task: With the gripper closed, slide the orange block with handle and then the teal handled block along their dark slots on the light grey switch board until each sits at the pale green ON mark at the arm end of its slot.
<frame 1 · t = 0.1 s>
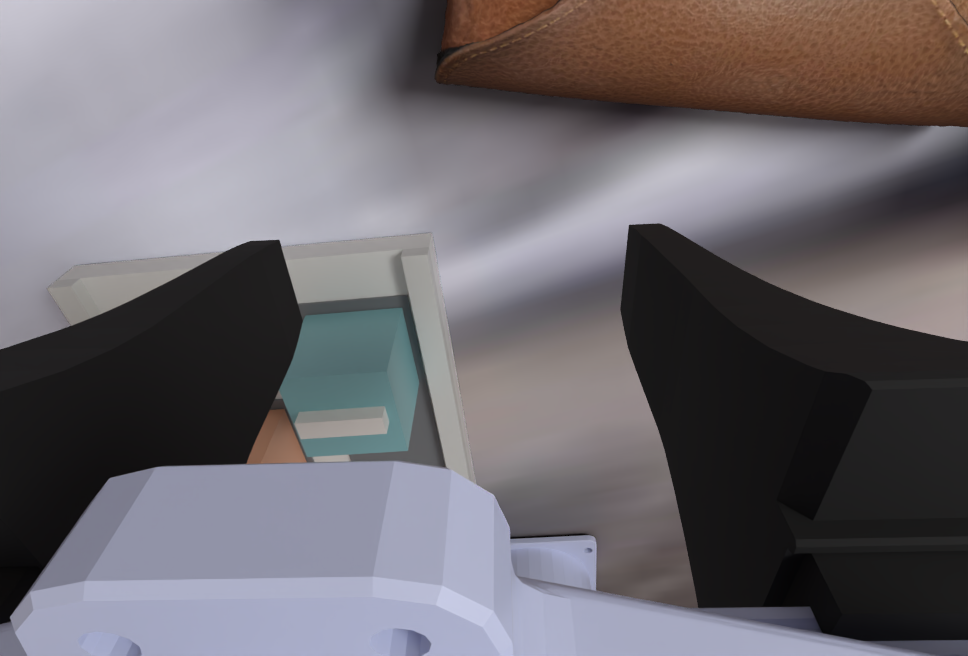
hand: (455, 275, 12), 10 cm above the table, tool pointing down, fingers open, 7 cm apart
teal handled block: (353, 386, 22), point 4 cm above the table, slide at 0.0 cm
orange block with handle: (239, 479, 26), point 4 cm above the table, slide at 0.0 cm
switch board: (305, 396, 27), on the table
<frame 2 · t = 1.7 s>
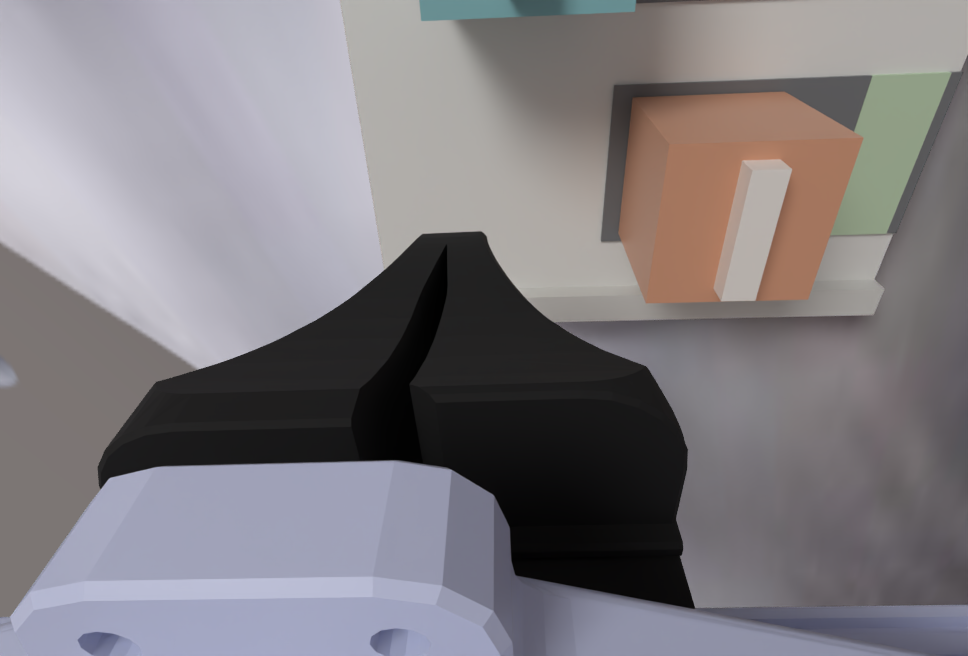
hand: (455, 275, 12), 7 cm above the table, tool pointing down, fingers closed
orange block with handle: (720, 199, 14), point 4 cm above the table, slide at 0.0 cm
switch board: (643, 66, 16), on the table
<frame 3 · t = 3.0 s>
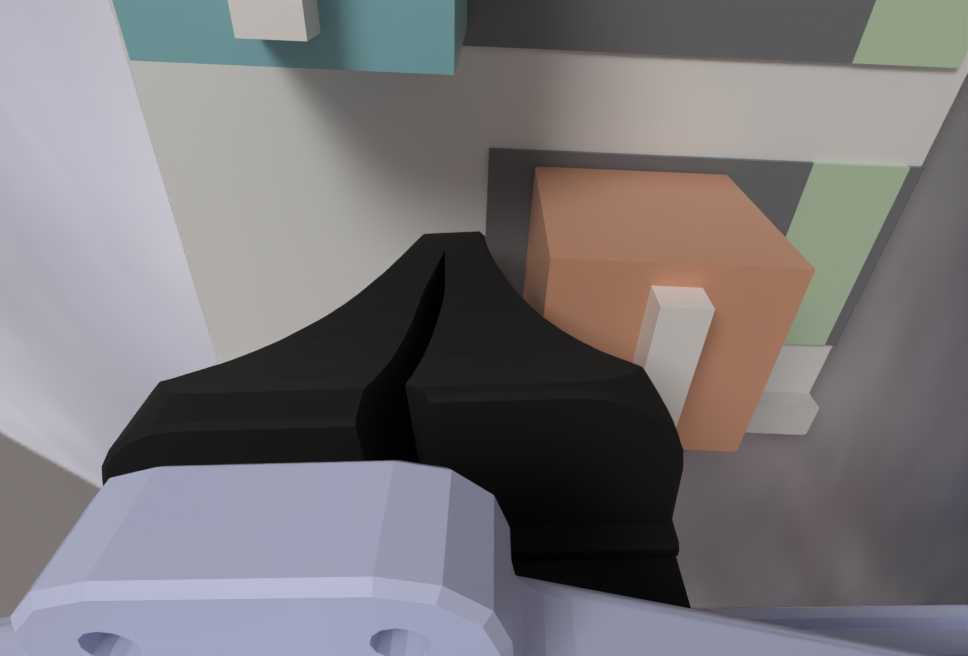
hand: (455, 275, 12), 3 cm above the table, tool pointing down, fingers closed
orange block with handle: (634, 311, 11), point 4 cm above the table, slide at 0.5 cm, touching gripper
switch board: (535, 123, 13), on the table
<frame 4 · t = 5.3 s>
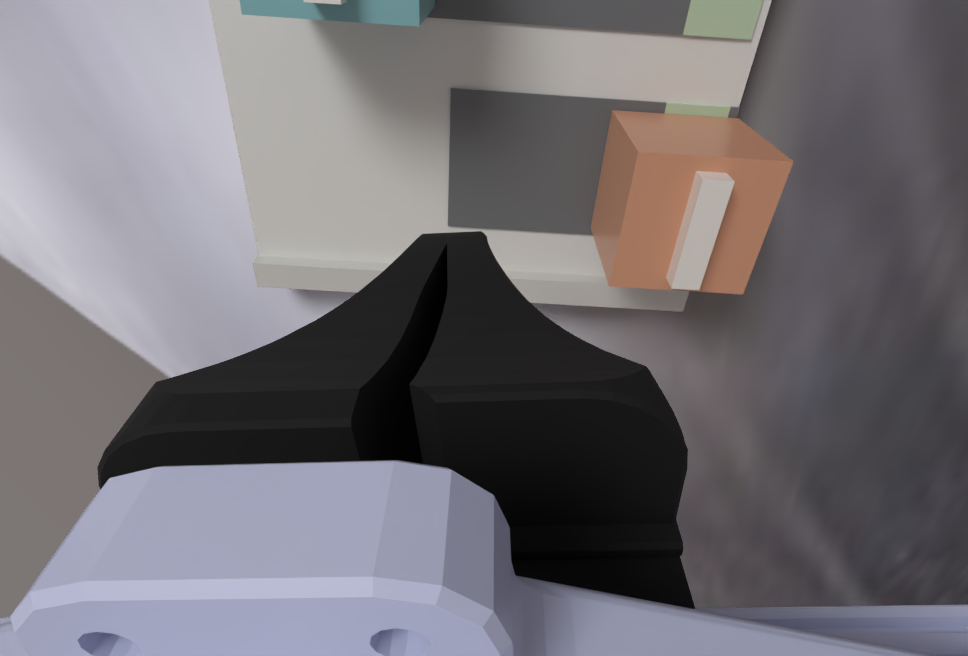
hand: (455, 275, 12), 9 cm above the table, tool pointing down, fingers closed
orange block with handle: (678, 203, 17), point 4 cm above the table, slide at 4.5 cm
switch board: (484, 74, 18), on the table
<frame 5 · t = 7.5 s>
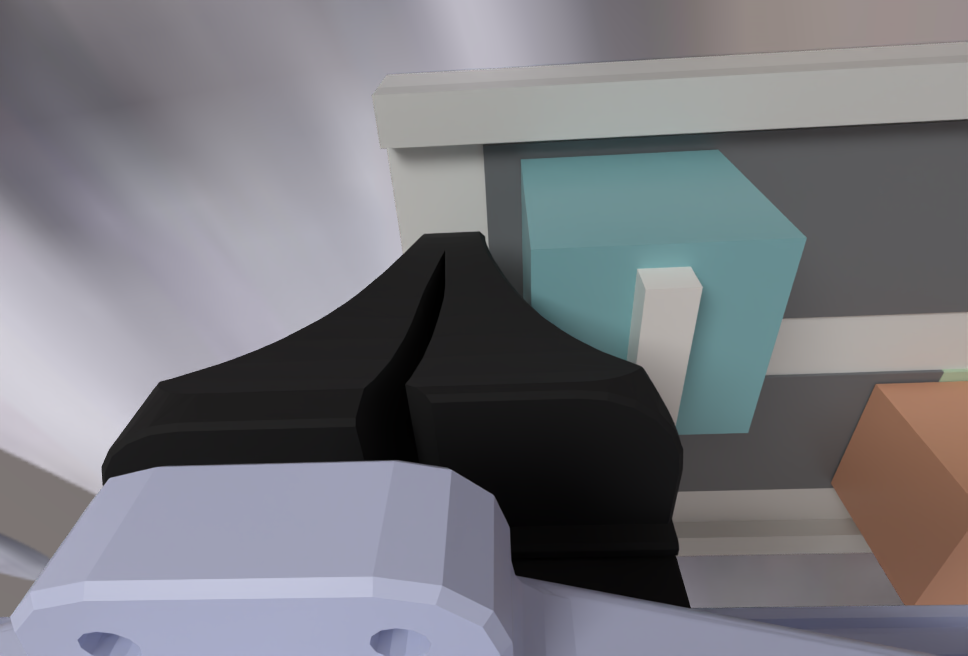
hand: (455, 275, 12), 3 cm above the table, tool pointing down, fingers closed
teal handled block: (631, 297, 11), point 4 cm above the table, slide at 0.3 cm, touching gripper
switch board: (708, 343, 16), on the table
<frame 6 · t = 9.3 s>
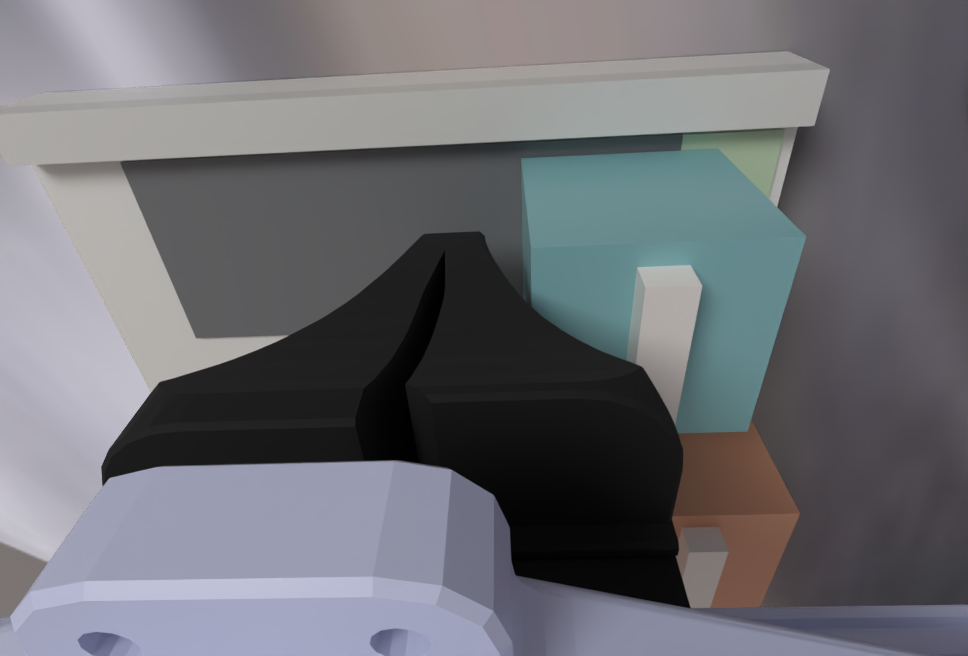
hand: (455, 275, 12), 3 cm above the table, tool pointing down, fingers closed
teal handled block: (631, 296, 11), point 4 cm above the table, slide at 7.9 cm, touching gripper
orange block with handle: (670, 508, 15), point 4 cm above the table, slide at 4.5 cm
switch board: (438, 351, 16), on the table
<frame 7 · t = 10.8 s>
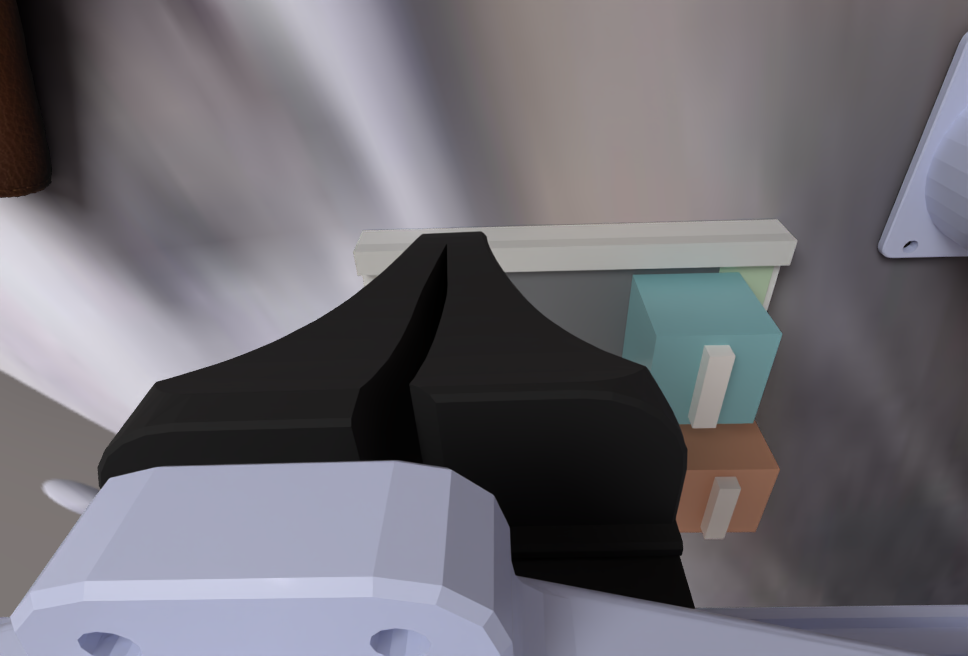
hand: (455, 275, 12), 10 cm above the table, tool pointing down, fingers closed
teal handled block: (693, 352, 21), point 4 cm above the table, slide at 7.9 cm
orange block with handle: (704, 470, 25), point 4 cm above the table, slide at 4.5 cm
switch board: (559, 373, 26), on the table
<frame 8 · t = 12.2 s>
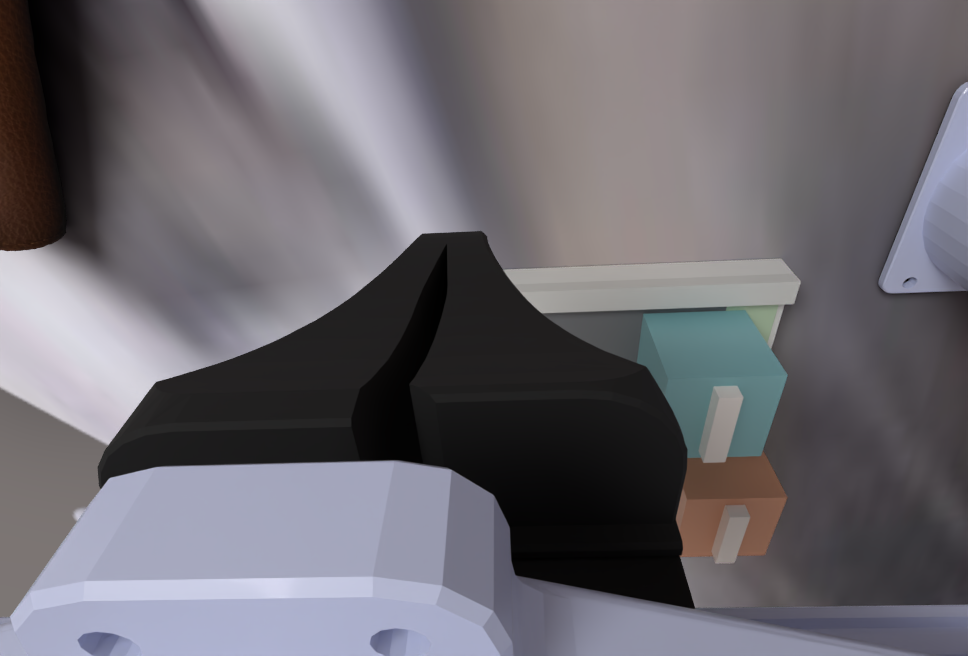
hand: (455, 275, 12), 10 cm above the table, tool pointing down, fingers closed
teal handled block: (702, 388, 22), point 4 cm above the table, slide at 7.9 cm
orange block with handle: (714, 496, 25), point 4 cm above the table, slide at 4.5 cm
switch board: (572, 403, 27), on the table
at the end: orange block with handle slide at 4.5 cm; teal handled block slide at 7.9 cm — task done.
